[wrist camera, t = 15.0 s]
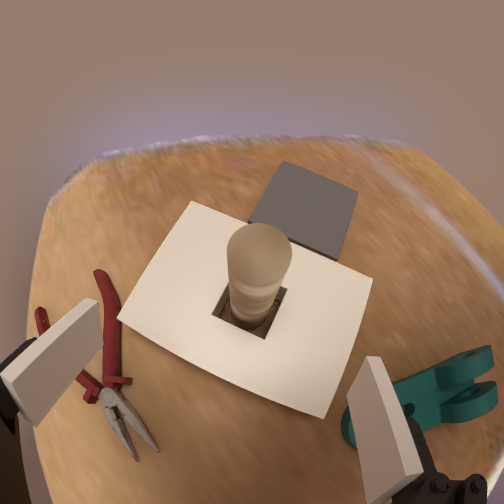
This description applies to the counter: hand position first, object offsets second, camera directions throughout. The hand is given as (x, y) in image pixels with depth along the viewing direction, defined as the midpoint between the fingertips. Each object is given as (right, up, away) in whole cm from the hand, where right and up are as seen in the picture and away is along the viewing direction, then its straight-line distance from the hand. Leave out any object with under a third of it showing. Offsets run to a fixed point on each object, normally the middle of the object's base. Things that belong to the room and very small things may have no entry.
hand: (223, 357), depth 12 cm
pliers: (-16, -8, +12) cm, 22 cm away
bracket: (+19, -12, +12) cm, 25 cm away
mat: (+8, +10, +22) cm, 25 cm away
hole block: (+1, -1, +15) cm, 15 cm away
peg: (+1, -1, +15) cm, 15 cm away
